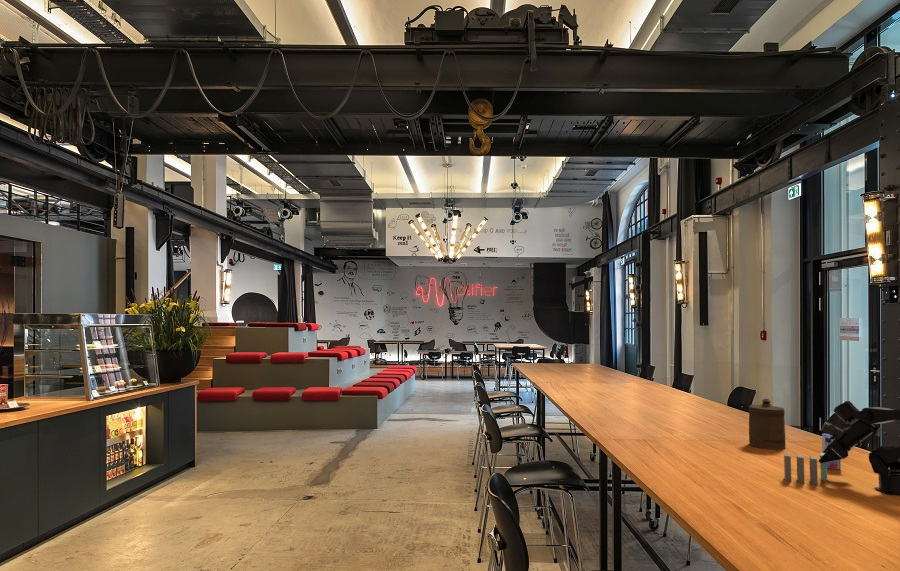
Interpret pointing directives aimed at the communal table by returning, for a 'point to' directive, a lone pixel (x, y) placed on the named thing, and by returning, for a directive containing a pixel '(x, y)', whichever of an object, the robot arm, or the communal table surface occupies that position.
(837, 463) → the ink cartridge box
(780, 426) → the wooden container
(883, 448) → the robot arm
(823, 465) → the domino
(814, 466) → the domino
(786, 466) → the domino end
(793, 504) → the communal table surface
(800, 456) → the domino
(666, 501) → the communal table surface
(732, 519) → the communal table surface
